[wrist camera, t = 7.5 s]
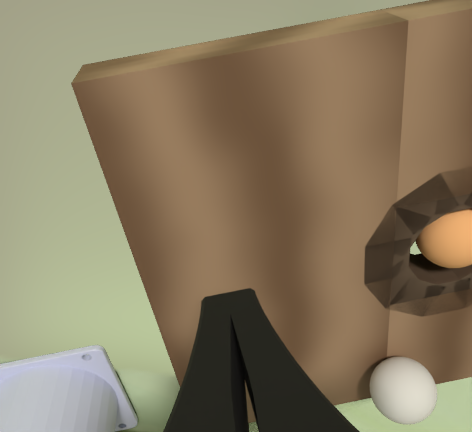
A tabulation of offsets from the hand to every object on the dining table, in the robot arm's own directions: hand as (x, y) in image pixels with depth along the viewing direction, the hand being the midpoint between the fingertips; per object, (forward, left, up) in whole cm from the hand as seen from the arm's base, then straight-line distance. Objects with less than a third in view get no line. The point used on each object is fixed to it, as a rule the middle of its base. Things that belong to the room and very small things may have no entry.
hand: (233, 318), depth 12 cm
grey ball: (+8, -14, -6) cm, 17 cm away
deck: (+6, -6, -10) cm, 13 cm away
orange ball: (+11, -6, -8) cm, 15 cm away
